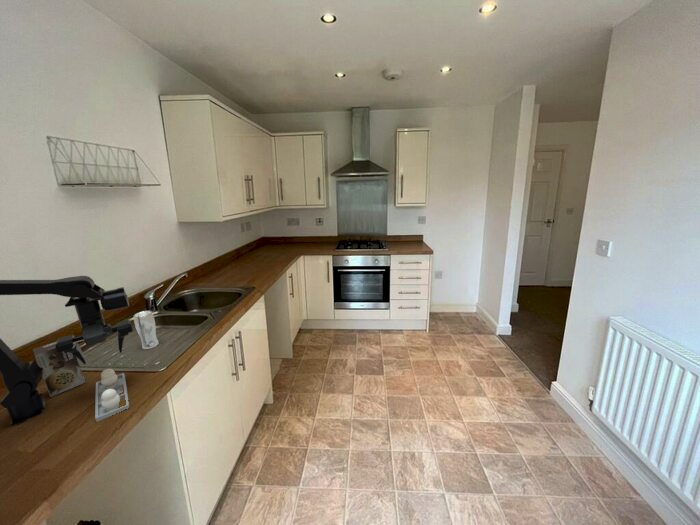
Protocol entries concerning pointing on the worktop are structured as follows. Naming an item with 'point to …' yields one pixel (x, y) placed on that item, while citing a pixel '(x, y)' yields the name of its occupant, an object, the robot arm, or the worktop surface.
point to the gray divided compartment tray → (121, 382)
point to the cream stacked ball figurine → (109, 378)
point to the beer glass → (146, 329)
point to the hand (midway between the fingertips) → (103, 357)
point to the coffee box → (58, 369)
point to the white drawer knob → (110, 400)
